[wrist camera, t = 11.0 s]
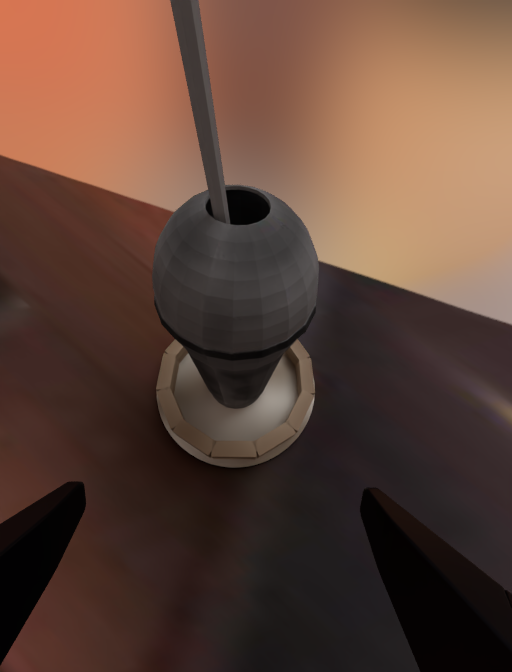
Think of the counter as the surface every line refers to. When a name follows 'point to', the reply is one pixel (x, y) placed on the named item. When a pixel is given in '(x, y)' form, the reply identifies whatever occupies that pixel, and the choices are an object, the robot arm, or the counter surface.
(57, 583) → the counter surface
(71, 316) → the counter surface
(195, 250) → the beverage cup
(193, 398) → the ring holder
